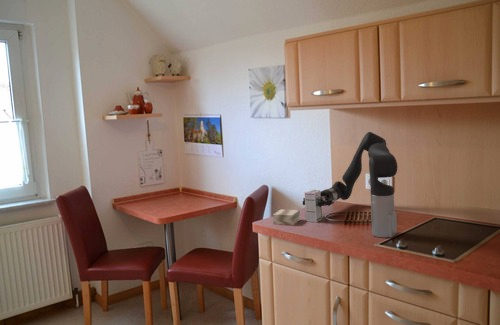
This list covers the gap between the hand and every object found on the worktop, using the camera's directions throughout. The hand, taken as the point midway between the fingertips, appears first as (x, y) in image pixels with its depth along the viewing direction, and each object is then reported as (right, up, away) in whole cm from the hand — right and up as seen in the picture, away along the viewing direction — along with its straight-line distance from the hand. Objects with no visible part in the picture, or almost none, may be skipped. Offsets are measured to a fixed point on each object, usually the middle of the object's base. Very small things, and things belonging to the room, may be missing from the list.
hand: (311, 204), depth 211 cm
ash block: (-11, -9, +4) cm, 15 cm away
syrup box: (+2, -8, +3) cm, 9 cm away
